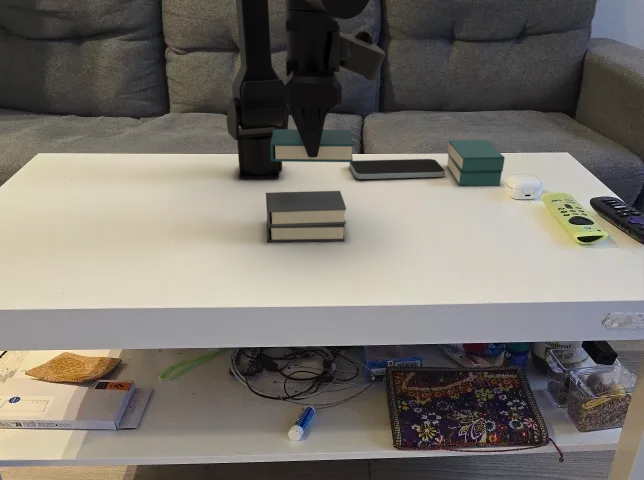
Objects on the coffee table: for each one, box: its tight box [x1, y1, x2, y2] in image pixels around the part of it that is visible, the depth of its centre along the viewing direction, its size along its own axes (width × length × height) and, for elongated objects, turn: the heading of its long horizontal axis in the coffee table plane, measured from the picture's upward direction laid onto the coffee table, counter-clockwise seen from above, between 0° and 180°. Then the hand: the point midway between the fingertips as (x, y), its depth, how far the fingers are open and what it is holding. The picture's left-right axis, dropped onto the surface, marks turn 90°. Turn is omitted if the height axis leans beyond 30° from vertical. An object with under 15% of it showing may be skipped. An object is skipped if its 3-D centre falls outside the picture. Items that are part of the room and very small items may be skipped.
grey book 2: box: [266, 220, 346, 243], centre depth 89 cm, size 10×6×2 cm, turn 94°
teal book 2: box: [447, 139, 506, 172], centre depth 108 cm, size 10×6×2 cm, turn 6°
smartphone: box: [348, 158, 446, 180], centre depth 110 cm, size 7×1×15 cm
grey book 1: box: [265, 190, 347, 227], centre depth 87 cm, size 10×6×2 cm, turn 97°
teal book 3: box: [446, 154, 503, 187], centre depth 109 cm, size 10×6×2 cm, turn 4°
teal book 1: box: [270, 128, 354, 163], centre depth 84 cm, size 10×6×2 cm, turn 91°
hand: (312, 149), depth 84 cm, fingers closed on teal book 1, 6 cm apart
